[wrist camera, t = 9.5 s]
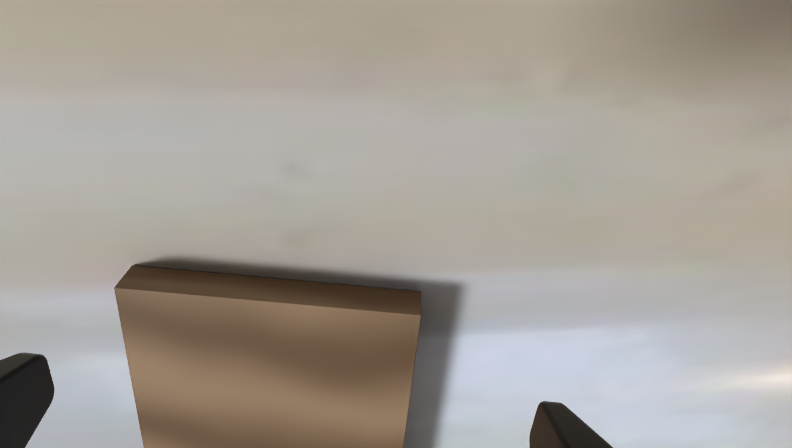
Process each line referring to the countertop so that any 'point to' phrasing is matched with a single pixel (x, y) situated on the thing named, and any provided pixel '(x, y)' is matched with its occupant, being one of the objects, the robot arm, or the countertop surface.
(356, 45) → the countertop surface
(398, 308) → the walnut cutting board
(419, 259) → the countertop surface
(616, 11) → the countertop surface
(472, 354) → the countertop surface
